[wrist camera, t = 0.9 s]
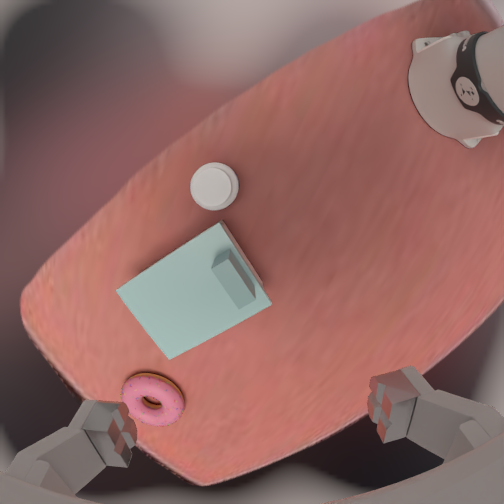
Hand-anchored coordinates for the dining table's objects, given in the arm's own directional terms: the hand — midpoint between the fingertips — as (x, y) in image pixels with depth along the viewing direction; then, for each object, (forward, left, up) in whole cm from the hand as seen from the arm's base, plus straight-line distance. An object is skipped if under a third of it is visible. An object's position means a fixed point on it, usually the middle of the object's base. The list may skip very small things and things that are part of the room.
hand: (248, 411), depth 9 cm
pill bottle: (0, -7, -32) cm, 33 cm away
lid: (+9, +2, -26) cm, 28 cm away
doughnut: (+28, +15, -33) cm, 45 cm away
